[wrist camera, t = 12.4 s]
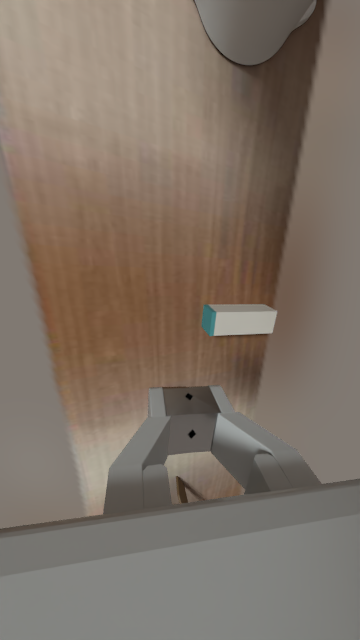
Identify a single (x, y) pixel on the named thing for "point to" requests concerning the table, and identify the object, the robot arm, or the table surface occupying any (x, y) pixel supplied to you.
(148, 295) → the table surface
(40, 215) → the table surface
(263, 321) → the block
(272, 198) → the table surface
